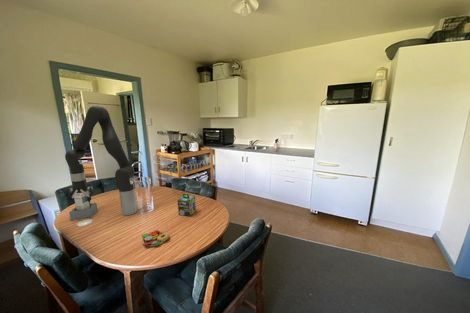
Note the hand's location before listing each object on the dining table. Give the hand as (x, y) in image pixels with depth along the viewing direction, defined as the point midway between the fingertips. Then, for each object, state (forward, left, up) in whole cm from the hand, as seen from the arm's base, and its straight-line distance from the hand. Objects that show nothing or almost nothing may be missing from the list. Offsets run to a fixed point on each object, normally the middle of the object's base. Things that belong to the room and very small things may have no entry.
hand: (82, 201), depth 132 cm
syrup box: (0, 0, -7) cm, 7 cm away
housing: (0, 0, -10) cm, 10 cm away
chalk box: (-69, +16, -10) cm, 72 cm away
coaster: (-5, +12, -10) cm, 16 cm away
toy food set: (-51, +43, -10) cm, 68 cm away
